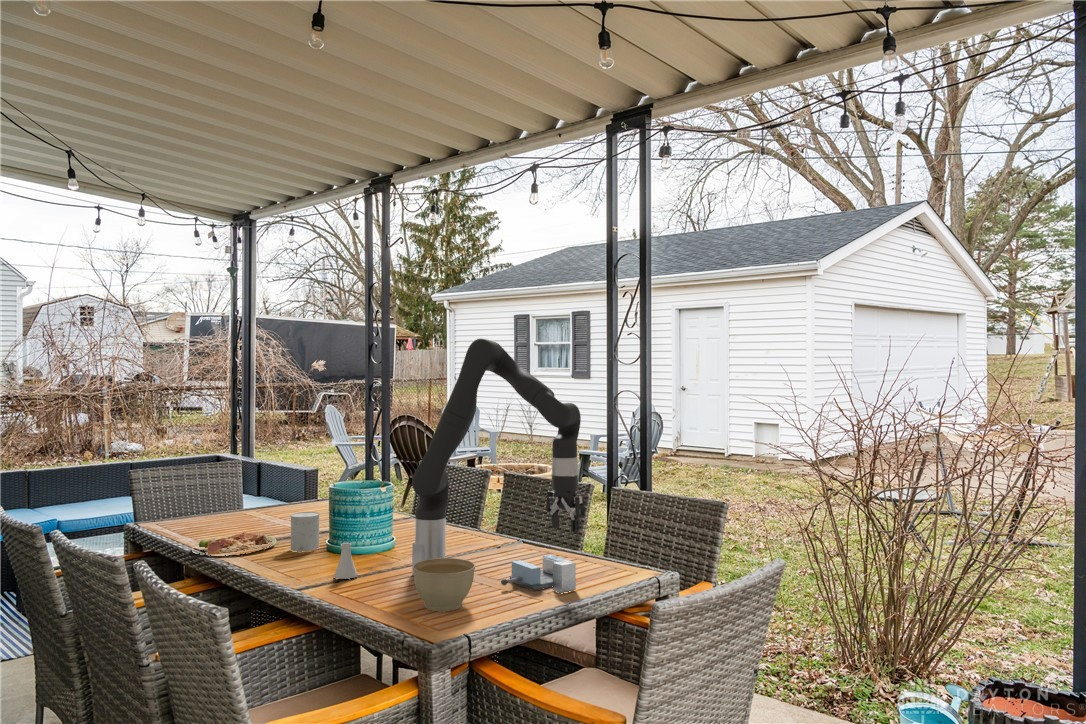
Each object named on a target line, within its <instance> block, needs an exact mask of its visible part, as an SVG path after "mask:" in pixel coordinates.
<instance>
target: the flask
mask: <svg viewBox="0 0 1086 724" xmlns="http://www.w3.org/2000/svg"><path fill="white" fill-rule="evenodd" d="M351 546H352V543H350V542H343V543H341V544H340V548H341V551H340V552H341V553H340V557H339V561H338V563H337V564H338V565H337V567H336V569H335V572H334V576H333V578H334V577H335V578H338V579H349V580H351V579H350V578H353V577H357V578H358V576H357V574H358V571H357V569H356V567H355V563H354V560H353V558H352V553H351Z"/></svg>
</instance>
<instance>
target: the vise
mask: <svg viewBox="0 0 1086 724" xmlns="http://www.w3.org/2000/svg"><path fill="white" fill-rule="evenodd" d="M564 560H567V558H562V557H559V556H556V555H553V554H547V555H542V569H541V582H540V583H538V584H534V585H531V584H528V583H526V582H523V581H516V582H512V583H513V584H515V585H517V586H519V585H520V587H522V588H524V587H525V589H527V588H528V589H527V590H529V589H531V590H530V591H532V590H533V592H535V590H537V591H540V590H539V589H542V590H544V589H543V588H546V589H549V588H548V587H551V588H553V587H552V586H553V562H559V561H564ZM509 579H513V577H512V575H511V576H509Z"/></svg>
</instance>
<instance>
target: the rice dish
mask: <svg viewBox="0 0 1086 724" xmlns="http://www.w3.org/2000/svg"><path fill="white" fill-rule="evenodd" d="M267 539H268V540H270V541H272V542H269V543H273V544H272V545H271V546H270V547H267V548H265V549H268V548H271V547H273V546H274V545H275V544H277V539H276V538H274V537H273V536H271V535H266V534H264V533H263V534H262V533H260V532H247V531H243V532H241V533H237V534H233V535H225V536H218V537H214V538H211V539H202V540H200V542H198V543H197V544H194V545H193V546H192V547H191V548H192V549H193V548H194V547H195V546H197V545H199V547H205V548H208V550H207V551H208V554H223V553H228V552H237V551H240V550H243V551H245V550H253V549H259V547H258V546H256V545H262V544H268V541H267ZM261 548H263V547H261ZM265 549H264V550H265Z"/></svg>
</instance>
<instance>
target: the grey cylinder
mask: <svg viewBox="0 0 1086 724" xmlns="http://www.w3.org/2000/svg"><path fill="white" fill-rule="evenodd" d="M317 548H319V549H320V513H319V512H317V511H303V512H302V511H301V512H295V513H292V514H291V515H290V550H293V551H297V552H302V551H310V550H314V549H317Z"/></svg>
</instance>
